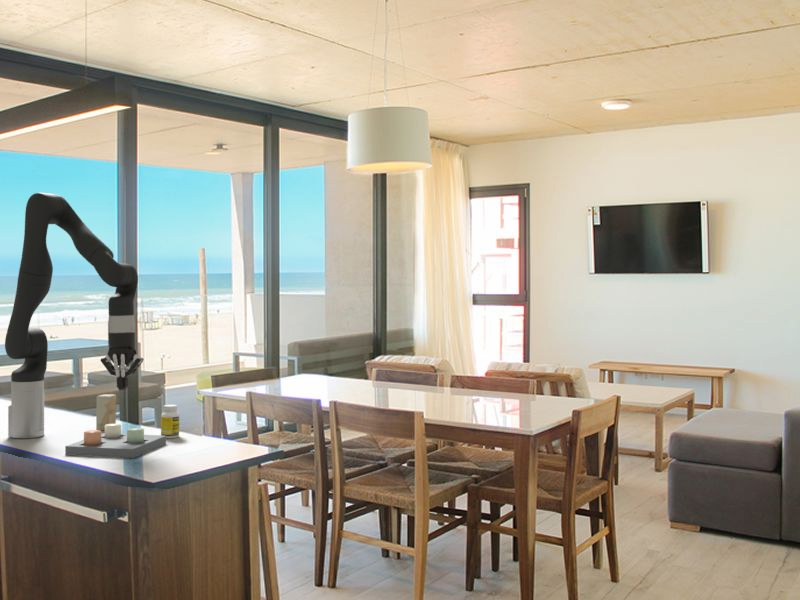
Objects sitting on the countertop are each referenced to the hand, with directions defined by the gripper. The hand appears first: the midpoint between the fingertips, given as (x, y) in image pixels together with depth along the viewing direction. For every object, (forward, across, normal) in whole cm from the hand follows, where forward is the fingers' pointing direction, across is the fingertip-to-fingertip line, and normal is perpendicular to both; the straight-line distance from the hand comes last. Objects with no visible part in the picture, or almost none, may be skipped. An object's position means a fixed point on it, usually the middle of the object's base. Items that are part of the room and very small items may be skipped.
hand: (122, 389), depth 237 cm
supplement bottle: (+16, +8, +13) cm, 23 cm away
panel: (+16, +2, -7) cm, 18 cm away
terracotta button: (+14, -3, -12) cm, 19 cm away
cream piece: (+14, -3, -2) cm, 15 cm away
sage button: (+14, +7, -7) cm, 18 cm away
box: (+16, -17, +21) cm, 32 cm away
